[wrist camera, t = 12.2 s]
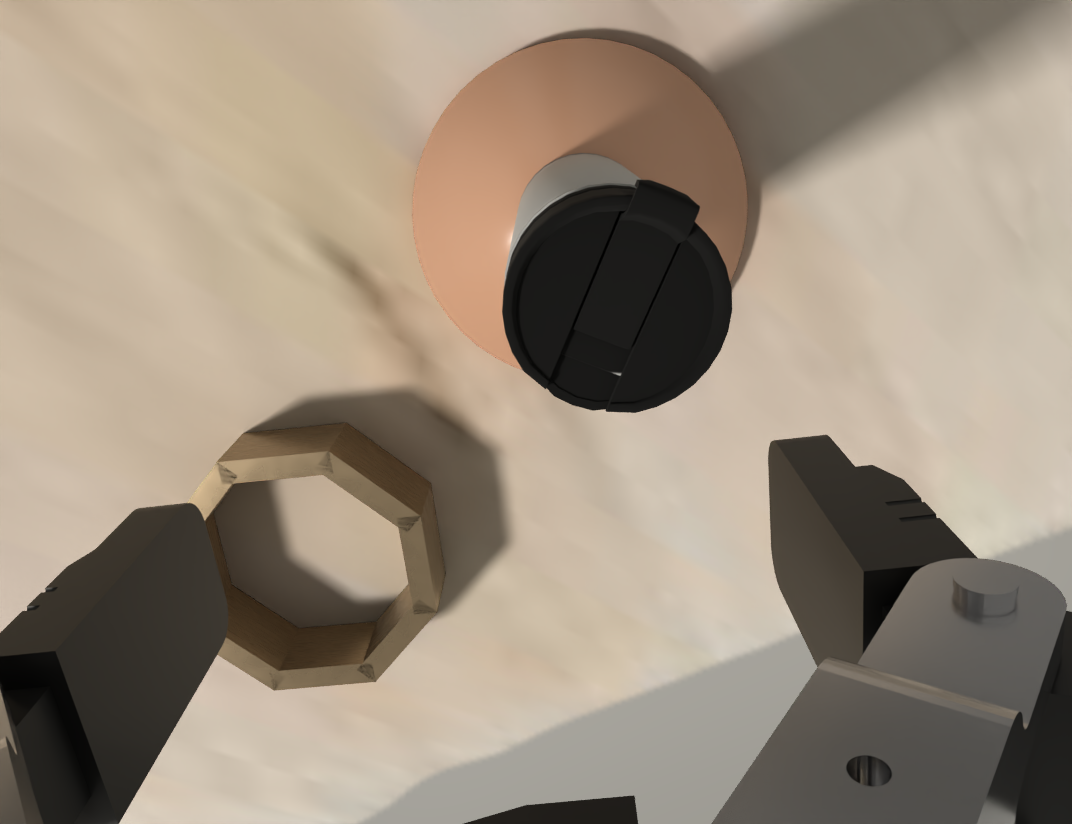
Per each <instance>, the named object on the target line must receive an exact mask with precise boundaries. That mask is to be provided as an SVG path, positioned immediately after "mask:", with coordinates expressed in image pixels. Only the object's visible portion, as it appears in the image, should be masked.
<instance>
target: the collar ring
mask: <svg viewBox="0 0 1072 824" xmlns="http://www.w3.org/2000/svg"><path fill="white" fill-rule="evenodd" d="M316 475H324V476H326V477H327V478H328V479H330V480H331V481H333V482H334V483H336V484H337V485H338V486H340V487H341V488H343V489H344V490H346V491H347V492H349V493H350V494H351V495H353V496H354V497H356V498H357V499H359V500H360V501H361V502H363V503H364V504H366V505H367V506H369V507H370V508H371V509H373V510H374V511H376V512H377V513H379V514H380V515H381V516H383V517H384V518H386V519H387V520H389V521H390V522H392V523H393V524H394V525H396V526H397V527H399V533H400V538H401V544H402V549H403V555H404V560H405V566H406V571H407V577H408V583H409V584H408V585H407V586H406V588H405V589H404V590H403V591H402V592H401V593H400V595H399V596H398V597H397V598H396V599H395V600H394V602H393V603H392V604H391V605H390V606H389V607H388V609H387V610H386V611H385V612H384V613H383V614H382V616H381V617H380V618H379V619H378V620H377V621H376V622H366V623H355V624H344V625H332V626H321V627H310V628H297V627H296V626H294V625H292V624H291V623H289V622H288V621H286V620H285V619H283V618H282V617H280V616H279V615H277V614H276V613H274V612H273V611H271V610H269V609H268V608H266V607H265V606H263V605H262V604H260V603H259V602H257V601H256V600H254V599H253V598H251V597H249V596H248V595H246V594H245V593H243V592H242V591H240V590H239V589H237V588H236V587H234V586H233V585H232V584H231V580H230V577H229V573H228V569H227V565H226V561H225V557H224V553H223V549H222V545H221V542H220V538H219V534H218V530H217V526H216V522H215V518H214V514H213V512H214V511H215V509H216V508H217V507H218V505H219V504H220V503H221V501H222V500H223V499H224V497H225V496H226V495H227V493H228V492H229V491H230V489H231V488H232V487H233V485H234V484H235V483H244V482H254V481H265V480H275V479H285V478H295V477H306V476H316ZM187 503H192V504H194V505H196V506H197V507H198V509H199V510H200V512H201V513H202V516H203V518H204V521H205V524H206V528H207V531H208V535H209V539H210V542H211V546H212V549H213V553H214V557H215V560H216V564H217V567H218V571H219V574H220V578H221V582H222V585H223V589H224V592H225V596H226V600H227V606H228V628H227V634H226V638H225V641H224V643H223V645H222V647H221V649H220V651H219V652H218V654H217V655H219V656H220V657H222V658H223V659H225V660H227V661H228V662H230V663H231V664H233V665H235V666H236V667H238V668H239V669H241V670H243V671H244V672H246V673H247V674H249V675H250V676H252V677H254V678H255V679H257V680H258V681H260V682H262V683H263V684H265V685H266V686H268V687H270V688H271V689H273V690H274V691H275V690H285V689H296V688H308V687H319V686H331V685H343V684H354V683H366V682H376V680H377V679H378V678H379V677H380V676H381V675H382V674H383V673H384V671H385V670H386V669H387V668H388V667H389V666H390V665H391V664H392V662H393V661H394V660H395V659H396V658H397V657H398V656H399V655H400V653H401V652H402V651H403V650H404V649H405V648H406V647H407V645H408V644H409V643H410V642H411V641H412V640H413V639H414V638H415V636H416V635H417V634H418V633H419V632H420V631H421V630H422V629H423V627H424V626H425V625H426V624H427V623H428V622H429V621H430V620H431V618H432V617H433V616H434V615H435V614H436V613H437V611H438V606H439V602H440V597H441V592H442V588H443V583H444V578H445V574H446V573H445V567H444V561H443V555H442V549H441V543H440V537H439V531H438V525H437V519H436V512H435V506H434V500H433V494H432V488H431V483H430V482H428V481H427V480H425V479H424V478H423V477H421V476H420V475H418V474H417V473H416V472H414V471H413V470H411V469H410V468H409V467H407V466H406V465H404V464H403V463H402V462H400V461H399V460H397V459H396V458H395V457H393V456H392V455H390V454H389V453H388V452H386V451H385V450H384V449H382V448H381V447H379V446H378V445H377V444H375V443H374V442H372V441H371V440H370V439H368V438H367V437H365V436H364V435H363V434H361V433H360V432H358V431H357V430H356V429H354V428H353V427H351V426H350V425H349V424H347V423H340V424H330V425H320V426H310V427H300V428H290V429H280V430H271V431H261V432H251V433H243V434H242V435H241V436H240V437H239V438H238V440H237V441H236V442H235V443H234V444H233V445H232V446H231V447H230V448H229V449H228V450H227V451H226V453H225V454H224V455H223V456H222V457H221V458H220V459H219V460H218V461H217V462H216V464H215V466H214V467H213V468H212V470H211V471H210V472H209V474H208V475H207V477H206V478H205V479H204V481H203V482H202V483H201V485H200V486H199V487H198V489H197V490H196V491H195V493H194V494H193V496H192V497H191V498H190V500H189V501H188V502H187Z"/></svg>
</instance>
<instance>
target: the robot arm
mask: <svg viewBox="0 0 1072 824" xmlns="http://www.w3.org/2000/svg"><path fill="white" fill-rule="evenodd" d="M768 466H769V496H770V527H771V550H772V558H773V565H774V570H775V574H776V578H777V582H778V585H779V588H780V590H781V592H782V595H783V597H784V599H785V601H786V603H787V605H788V607H789V609H790V611H791V613H792V615H793V617H794V619H795V621H796V623H797V626H798V628H799V630H800V632H801V634H802V636H803V638H804V640H805V642H806V644H807V646H808V648H809V650H810V652H811V654H812V657H813V659H814V661H815V663H816V665H817V667H818V668H817V669H816V670H815V672H814V674H813V675H812V676H811V678H810V680H809V681H808V682H807V684H806V685H805V687H804V688H803V690H802V691H801V693H800V694H799V696H798V697H797V698H796V700H795V702H794V703H793V704H792V706H791V707H790V709H789V710H788V712H787V713H786V715H785V716H784V718H783V719H782V721H781V722H780V724H779V725H778V726H777V728H776V729H775V731H774V732H773V734H772V735H771V737H770V738H769V740H768V741H767V743H766V744H765V746H764V747H763V749H762V750H761V752H760V753H759V755H758V756H757V757H756V759H755V761H754V762H753V763H752V765H751V766H750V768H749V769H748V771H747V772H746V774H745V775H744V777H743V778H742V780H741V781H740V783H739V784H738V785H737V787H736V788H735V790H734V791H733V793H732V794H731V796H730V797H729V799H728V800H727V802H726V803H725V805H724V806H723V808H722V809H721V810H720V812H719V814H718V815H717V817H716V818H715V819H714V821H713V822H712V824H1072V612H1069V611H1066V607H1067V604H1066V600H1065V598H1064V596H1063V594H1062V593H1061V591H1060V590H1059V589H1058V588H1057V587H1056V586H1055V585H1054V584H1052V583H1051V582H1050V581H1048V580H1047V579H1045V578H1044V577H1042V576H1040V575H1038V574H1037V573H1035V572H1032V571H1030V570H1028V569H1025V568H1022V567H1019V566H1016V565H1013V564H1009V563H1005V562H1001V561H995V560H989V559H978V558H977V557H976V556H975V555H974V554H973V553H972V552H971V551H970V550H969V548H968V547H967V546H966V545H965V544H964V543H963V542H962V541H961V540H960V539H959V538H958V537H957V536H956V535H955V534H954V533H953V532H952V530H951V529H950V528H949V527H948V526H947V525H946V524H945V523H944V522H943V521H942V520H941V519H940V518H936V514H935V512H934V511H933V510H932V509H931V508H930V507H929V506H928V505H927V504H926V503H925V502H922V501H921V498H920V497H919V496H918V494H917V493H916V492H915V491H914V490H913V489H912V488H911V487H910V486H909V485H908V484H907V483H906V482H905V481H904V480H903V479H901V478H899V477H897V476H895V475H893V474H890V473H888V472H886V471H884V470H882V469H880V468H878V467H875V466H873V465H868V466H858V467H855V466H854V465H853V464H852V463H851V461H850V460H849V459H848V458H847V457H846V456H845V454H844V453H843V452H842V451H841V450H840V448H839V447H838V446H837V445H836V444H835V443H834V441H833V440H832V439H831V438H830V437H829V436H828V435H820V436H811V437H802V438H793V439H783V440H774V441H772V442H771V443H770V447H769V455H768ZM45 589H46V592H44V593H40V594H39V595H38V596H37V597H36V598H35V599H34V600H33V601H32V602H31V603H30V604H29V605H28V606H27V611H22V612H21V613H20V614H19V615H18V616H17V617H16V618H15V619H14V620H13V621H12V622H11V623H10V624H9V625H8V626H7V627H6V628H5V629H4V630H3V631H2V632H1V633H0V824H119V822H120V821H121V819H122V817H123V815H124V814H125V812H126V810H127V809H128V807H129V805H130V803H131V802H132V800H133V798H134V797H135V795H136V793H137V791H138V790H139V788H140V786H141V785H142V783H143V781H144V779H145V778H146V776H147V774H148V772H149V771H150V769H151V767H152V766H153V764H154V762H155V760H156V759H157V757H158V755H159V754H160V752H161V750H162V748H163V747H164V745H165V743H166V742H167V740H168V738H169V736H170V735H171V733H172V731H173V730H174V728H175V726H176V724H177V723H178V721H179V719H180V718H181V716H182V714H183V712H184V711H185V709H186V707H187V706H188V704H189V702H190V700H191V699H192V697H193V695H194V694H195V692H196V690H197V688H198V687H199V685H200V683H201V682H202V680H203V678H204V676H205V675H206V673H207V671H208V669H209V668H210V666H211V664H212V663H213V661H214V659H215V657H216V656H217V654H218V652H219V651H220V649H221V647H222V645H223V643H224V641H225V638H226V634H227V628H228V606H227V600H226V596H225V592H224V589H223V585H222V582H221V578H220V574H219V571H218V567H217V564H216V560H215V557H214V553H213V549H212V546H211V542H210V539H209V535H208V531H207V528H206V524H205V521H204V518H203V516H202V513H201V512H200V510H199V509H198V507H197V506H196V505H194V504H192V503H183V504H174V505H165V506H156V507H146V508H138V509H136V510H134V511H133V512H132V513H131V514H130V515H129V516H128V517H127V518H126V519H125V520H124V521H123V522H122V523H121V524H120V525H119V526H118V527H117V528H116V529H115V530H114V531H113V532H112V533H111V534H110V535H109V536H108V537H107V538H106V539H105V540H104V541H103V542H102V543H101V544H100V545H99V546H98V547H97V548H96V549H95V550H94V551H92V552H90V553H89V554H87V555H86V556H84V557H82V558H81V559H79V560H77V561H76V562H74V563H72V564H71V565H69V566H67V567H66V568H65V569H64V570H63V571H62V572H61V573H60V574H59V575H58V576H57V577H56V578H55V579H54V580H53V581H52V582H51V583H50V584H49V585H48V586H47V587H46V588H45ZM464 824H638V820H637V812H636V805H635V797H634V796H624V797H613V798H602V799H590V800H579V801H568V802H557V803H546V804H535V805H526V806H522V807H518V808H515V809H512V810H508V811H505V812H501V813H498V814H495V815H491V816H488V817H484V818H481V819H478V820H475V821H471V822H468V823H464Z"/></svg>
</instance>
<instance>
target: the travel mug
mask: <svg viewBox="0 0 1072 824" xmlns="http://www.w3.org/2000/svg"><path fill="white" fill-rule="evenodd" d="M699 210H700V206H699V205H698V204H697V203H695V202H694V201H693V200H692V199H691V198H690V197H689V196H688V195H686V194H684V193H682V192H680V191H677V190H675V189H673V188H671V187H668V186H666V185H663V184H660V183H657V182H655V181H652V180H642V179H640V178H639V177H637V176H636V175H635V174H633V173H632V172H631V171H629V170H628V169H627V168H625V167H624V166H622V165H621V164H620V163H618V162H616V161H614V160H612V159H610V158H608V157H605V156H601V155H598V154H592V153H576V154H569V155H566V156H563V157H560V158H557V159H555V160H554V161H552V162H550V163H548V164H547V165H545V166H544V167H543V168H542V169H541V170H539V171H538V172H537V173H536V174H535V175H534V177H533V178H532V179H531V180H530V182H529V183H528V184H527V186H526V188H525V190H524V192H523V194H522V196H521V200H520V204H519V207H518V211H517V216H516V221H515V226H514V231H513V236H512V241H511V246H510V251H509V255H508V260H507V265H506V270H505V280H504V290H503V305H502V315H503V322H504V329H505V334H506V337H507V340H508V343H509V345H510V348H511V351H512V353H513V355H514V357H515V358H516V360H517V362H518V363H519V365H520V366H521V368H522V370H523V371H524V372H525V373H526V374H528V375H529V376H530V377H531V378H533V379H534V380H535V381H536V382H538V383H539V384H540V385H541V386H542V387H544V388H545V389H546V388H547V389H548V390H549V391H550V392H551V393H552V394H553V396H555V397H557V398H559V399H561V400H563V401H565V402H567V403H570V404H572V405H575V406H578V407H582V408H586V409H589V410H601V409H606V412H631V413H636V412H640V411H643V410H647V409H651V408H654V407H657V406H659V405H662V404H664V403H666V402H668V401H670V400H672V399H674V398H676V397H677V396H679V395H680V394H682V393H683V392H684V391H686V390H687V389H689V388H690V387H691V386H693V385H694V384H695V383H696V382H697V381H698V380H699V379H700V378H701V376H702V375H703V374H704V373H705V372H706V371H707V370H708V369H709V368H710V366H711V364H712V363H713V361H714V360H715V358H716V357H717V355H718V354H719V352H720V350H721V348H722V345H723V343H724V340H725V338H726V335H727V333H728V329H729V324H730V318H731V313H732V290H731V284H730V280H729V276H728V272H727V267H726V265H725V263H724V261H723V259H722V257H721V255H720V253H719V250H718V248H717V246H716V245H715V244H714V243H713V241H712V240H711V239H710V237H709V236H708V235H707V234H706V232H705V231H704V230H703V229H702V228H701V227H700V226H699V225H698V224H697V223H696V222H695V220H696V218H697V215H698V213H699Z"/></svg>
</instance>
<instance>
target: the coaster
mask: <svg viewBox="0 0 1072 824" xmlns="http://www.w3.org/2000/svg"><path fill="white" fill-rule="evenodd" d="M576 153H592V154H598V155H601V156H605V157H608V158H610V159H612V160H614V161H616V162H618V163H620V164H621V165H622V166H624V167H625V168H627V169H628V170H629V171H631V172H632V173H633V174H635V175H636V176H637V177H639V178H640V179H642V180H652V181H655V182H657V183H660V184H663V185H666V186H668V187H671V188H673V189H675V190H677V191H680V192H682V193H684V194H686V195H688V196H689V197H690V198H691V199H692V200H693V201H694V202H695V203H697V204H698V205H699V206H700V210H699V213H698V215H697V218H696V220H695V222H696V223H697V224H698V225H699V226H700V227H701V228H702V229H703V230H704V231H705V232H706V234H707V235H708V236H709V237H710V239H711V240H712V241H713V243H714V244H715V245H716V246H717V248H718V250H719V253H720V255H721V257H722V259H723V261H724V263H725V265H726V267H727V272H728V276H729V280H730V281H731V279H732V277H733V275H734V272H735V270H736V268H737V265H738V262H739V258H740V255H741V252H742V248H743V244H744V238H745V232H746V226H747V208H748V199H747V188H746V178H745V174H744V169H743V165H742V161H741V156H740V154H739V151H738V148H737V146H736V143H735V140H734V138H733V135H732V133H731V131H730V130H729V128H728V126H727V124H726V122H725V120H724V118H723V117H722V115H721V113H720V112H719V111H718V109H717V108H716V107H715V105H714V104H713V103H712V101H711V100H710V98H709V97H708V96H707V95H706V94H705V93H704V92H703V91H702V90H701V89H700V88H699V87H698V86H697V85H696V83H695V82H694V81H693V80H691V79H690V78H689V77H688V76H686V75H685V74H684V73H682V72H681V71H680V70H679V69H677V68H676V67H675V66H673V65H672V64H670V63H668V62H666V61H665V60H663V59H661V58H659V57H658V56H656V55H654V54H652V53H649V52H647V51H644V50H642V49H639V48H637V47H634V46H631V45H627V44H623V43H619V42H615V41H611V40H601V39H591V38H578V39H561V40H556V41H551V42H546V43H541V44H537V45H535V46H532V47H529V48H526V49H523V50H520V51H517V52H515V53H513V54H511V55H509V56H507V57H505V58H503V59H501V60H500V61H498V62H496V63H494V64H493V65H492V66H490V67H489V68H487V69H486V70H484V71H483V72H482V73H480V74H479V75H477V76H476V77H475V78H474V79H473V80H472V81H471V82H470V83H469V84H468V85H466V86H465V87H464V88H463V89H462V90H461V91H460V92H459V93H458V95H457V96H456V97H455V98H454V99H453V101H452V102H451V103H450V104H449V105H448V107H447V108H446V109H445V111H444V112H443V114H442V115H441V117H440V119H439V120H438V122H437V123H436V125H435V127H434V128H433V130H432V132H431V135H430V137H429V139H428V141H427V143H426V146H425V148H424V150H423V153H422V157H421V160H420V163H419V166H418V170H417V174H416V180H415V186H414V192H413V213H412V217H413V228H414V239H415V243H416V248H417V252H418V257H419V260H420V263H421V266H422V269H423V272H424V274H425V277H426V280H427V282H428V284H429V286H430V288H431V290H432V292H433V294H434V296H435V298H436V299H437V301H438V302H439V304H440V305H441V307H442V308H443V310H444V311H445V312H446V314H447V315H448V317H449V318H450V319H451V320H452V321H453V322H454V323H455V325H456V326H457V327H458V328H459V329H460V330H461V331H462V332H463V333H464V334H465V335H466V336H467V337H468V338H469V339H471V340H472V341H473V342H474V343H475V344H476V345H478V346H479V347H480V348H482V349H483V350H485V351H486V352H488V353H489V354H491V355H492V356H494V357H495V358H497V359H499V360H501V361H503V362H505V363H507V364H509V365H511V366H513V367H516V368H519V369H522V368H521V366H520V365H519V363H518V362H517V360H516V358H515V357H514V355H513V353H512V351H511V348H510V345H509V343H508V340H507V337H506V334H505V329H504V322H503V315H502V305H503V290H504V280H505V270H506V265H507V260H508V255H509V251H510V246H511V241H512V236H513V231H514V226H515V221H516V216H517V211H518V207H519V204H520V200H521V196H522V194H523V192H524V190H525V188H526V186H527V184H528V183H529V182H530V180H531V179H532V178H533V177H534V175H535V174H536V173H537V172H538V171H539V170H541V169H542V168H543V167H544V166H545V165H547V164H548V163H550V162H552V161H554V160H555V159H557V158H560V157H563V156H566V155H569V154H576Z"/></svg>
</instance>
